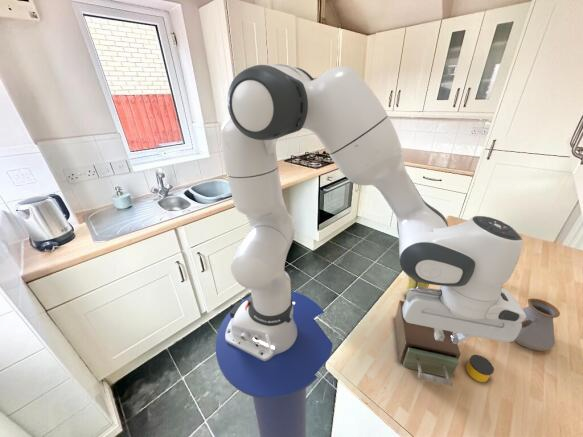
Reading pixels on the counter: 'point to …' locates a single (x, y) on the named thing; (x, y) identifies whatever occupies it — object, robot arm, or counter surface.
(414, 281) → the sauce bottle
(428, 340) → the cabinet
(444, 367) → the drawer
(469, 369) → the jar
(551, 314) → the coffee pot
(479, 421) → the counter surface
